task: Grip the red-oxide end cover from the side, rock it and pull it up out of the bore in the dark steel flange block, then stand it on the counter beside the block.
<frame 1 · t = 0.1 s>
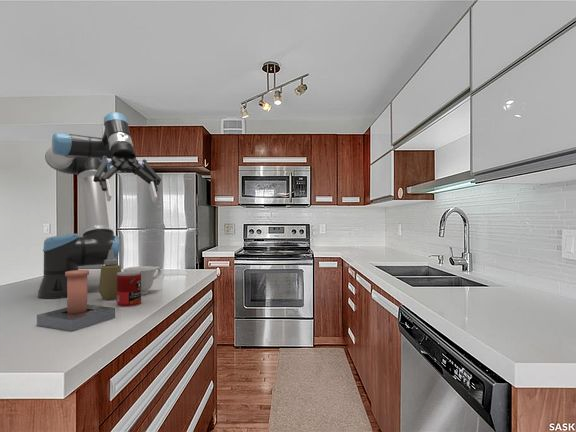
hand: (133, 199, 114), 36 cm above the counter, tool tilted 35°, fingers open, 13 cm apart
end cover: (77, 296, 106), in the flange block
teacup: (143, 293, 145), on the counter
squeeze bottle: (111, 299, 136), on the counter
flange block: (77, 321, 106), on the counter
canned food: (129, 304, 127), on the counter
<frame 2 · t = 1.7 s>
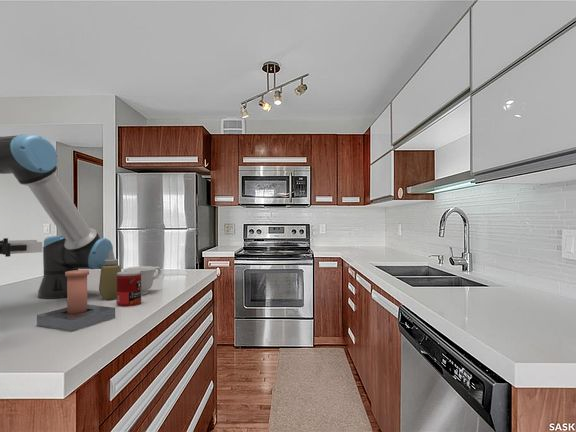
hand: (39, 245, 100), 22 cm above the counter, tool horizontal, fingers open, 13 cm apart
nothing on the counter moved.
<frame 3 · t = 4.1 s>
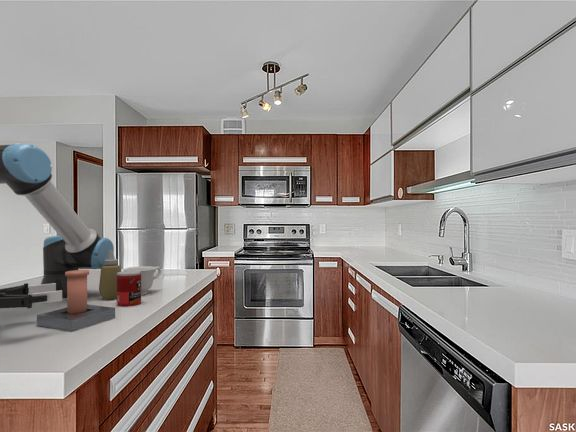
hand: (58, 291, 102), 9 cm above the counter, tool horizontal, fingers open, 13 cm apart
nothing on the counter moved.
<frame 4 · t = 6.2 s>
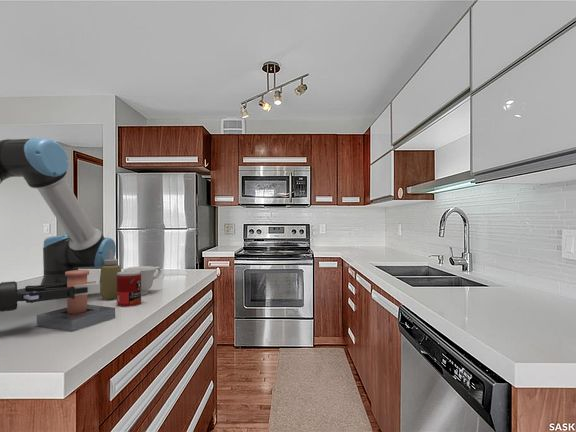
hand: (97, 286, 109), 10 cm above the counter, tool horizontal, fingers closed on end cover, 5 cm apart
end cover: (77, 296, 106), in the flange block, touching gripper
everything else where it was.
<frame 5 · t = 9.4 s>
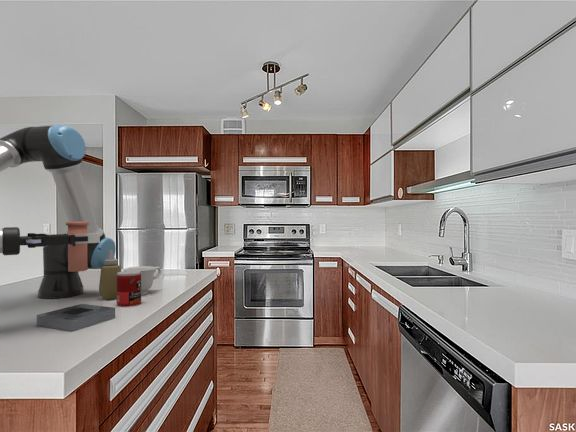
hand: (97, 237, 112), 24 cm above the counter, tool horizontal, fingers closed on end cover, 5 cm apart
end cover: (77, 246, 109), point 22 cm above the counter, touching gripper
everything else where it was.
when the fingers open (10 cm above the counter, at t = 12.9 s): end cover stays where it is, on the counter.
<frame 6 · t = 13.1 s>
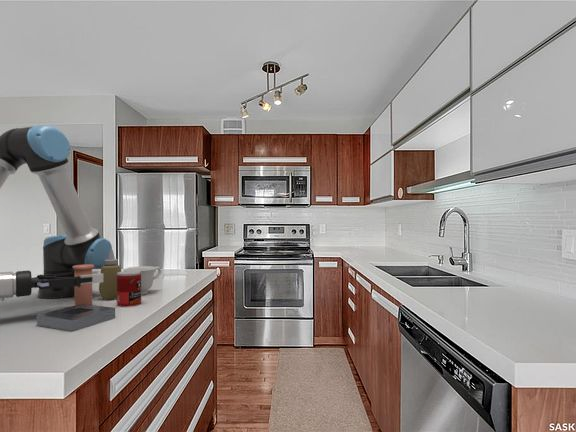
hand: (100, 276, 122), 10 cm above the counter, tool horizontal, fingers open, 8 cm apart
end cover: (83, 287, 119), on the counter
everything else where it was.
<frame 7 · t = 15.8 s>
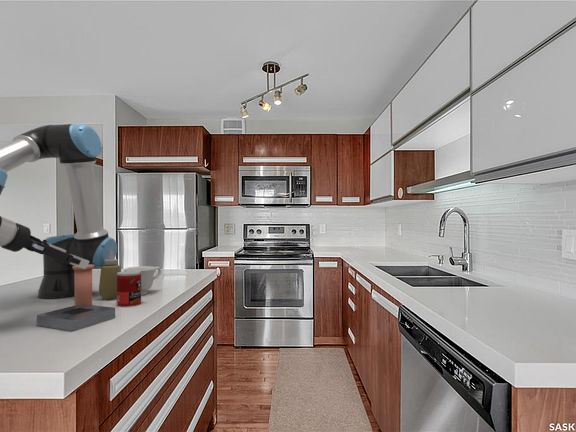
hand: (75, 259, 118), 17 cm above the counter, tool tilted 65°, fingers open, 13 cm apart
nothing on the counter moved.
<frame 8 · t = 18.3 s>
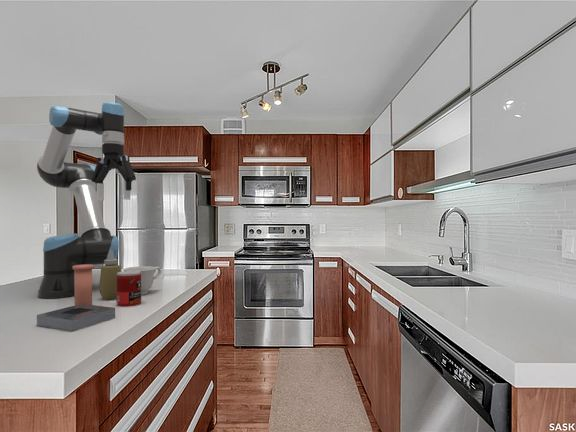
hand: (113, 200, 139), 37 cm above the counter, tool pointing down, fingers open, 13 cm apart
nothing on the counter moved.
at the end: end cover inside the target area (0.9 cm from its centre), on the counter; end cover tilted 0°; the gripper is holding nothing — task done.
